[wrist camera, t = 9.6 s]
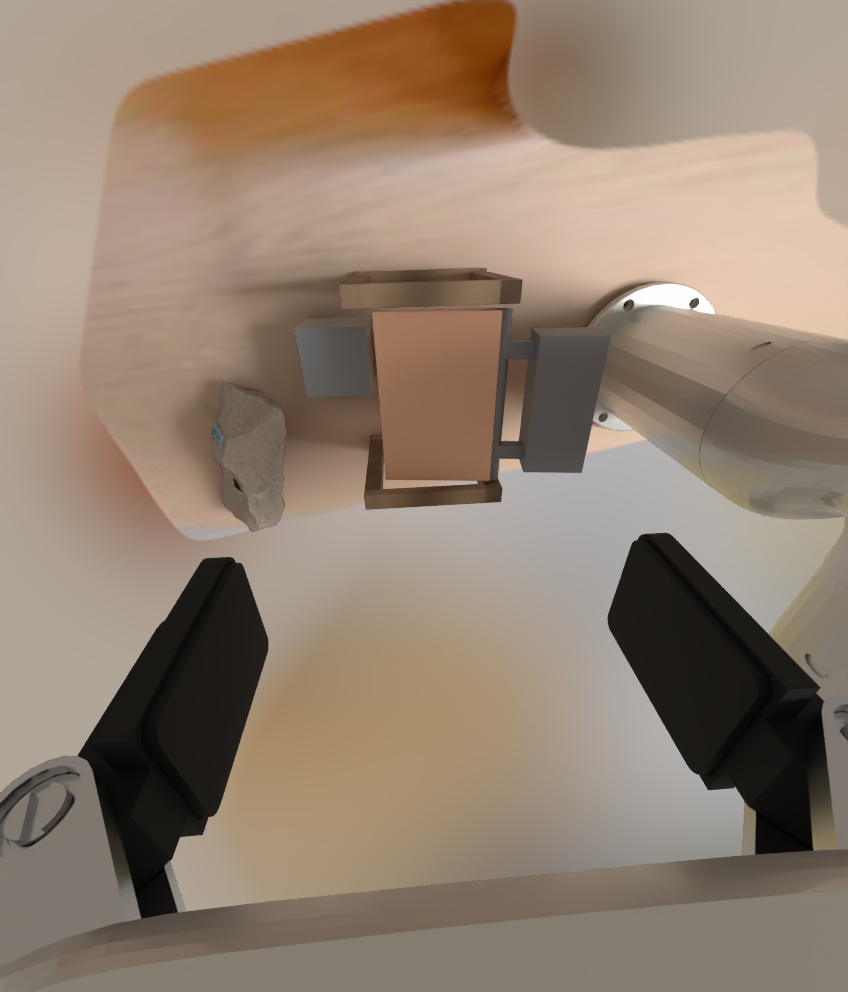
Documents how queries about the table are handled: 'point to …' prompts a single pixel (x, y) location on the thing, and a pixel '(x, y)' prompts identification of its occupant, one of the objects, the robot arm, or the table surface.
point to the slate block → (335, 356)
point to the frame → (425, 292)
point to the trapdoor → (481, 393)
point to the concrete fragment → (250, 456)
